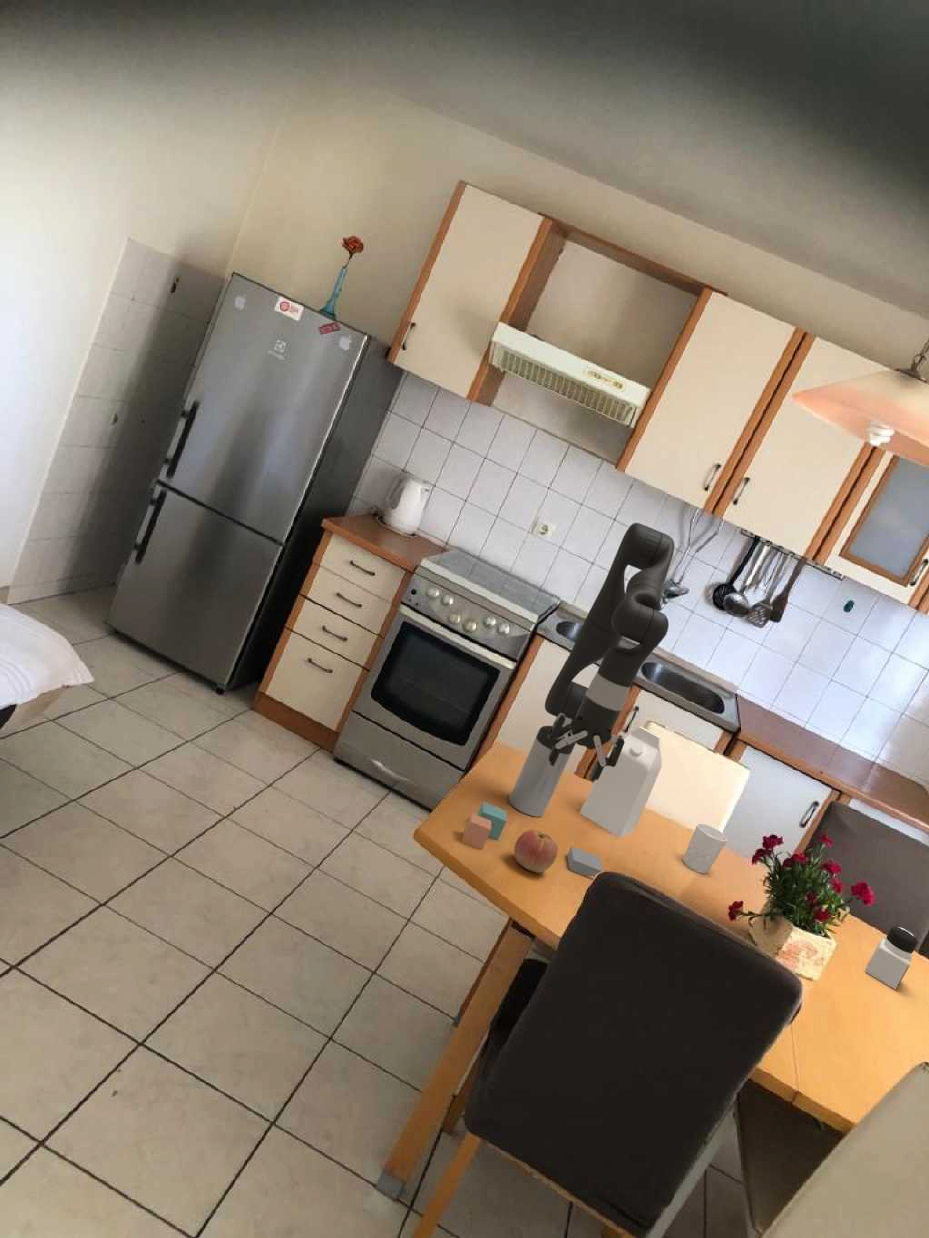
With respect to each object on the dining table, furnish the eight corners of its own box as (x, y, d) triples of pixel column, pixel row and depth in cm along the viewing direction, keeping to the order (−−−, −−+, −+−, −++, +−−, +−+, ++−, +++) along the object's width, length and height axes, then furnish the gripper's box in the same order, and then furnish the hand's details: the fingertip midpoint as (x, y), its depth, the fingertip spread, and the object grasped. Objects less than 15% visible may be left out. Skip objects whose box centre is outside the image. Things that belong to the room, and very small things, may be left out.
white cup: (712, 869, 243) (729, 835, 241) (707, 879, 235) (724, 844, 233) (683, 853, 245) (700, 820, 243) (677, 862, 238) (695, 828, 236)
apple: (545, 884, 198) (560, 851, 196) (506, 866, 199) (521, 832, 197) (549, 867, 206) (564, 835, 205) (511, 849, 207) (526, 817, 205)
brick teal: (474, 821, 214) (483, 801, 213) (497, 830, 214) (506, 810, 213) (474, 831, 209) (482, 811, 208) (497, 840, 209) (506, 821, 208)
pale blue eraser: (566, 855, 216) (571, 845, 215) (595, 866, 216) (600, 857, 215) (569, 869, 209) (573, 859, 208) (598, 881, 209) (603, 871, 209)
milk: (635, 829, 248) (677, 741, 243) (619, 837, 238) (663, 746, 233) (596, 805, 254) (636, 718, 248) (579, 812, 244) (620, 722, 238)
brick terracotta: (462, 833, 206) (471, 813, 205) (482, 840, 206) (491, 820, 205) (462, 842, 201) (471, 821, 200) (481, 850, 201) (491, 829, 200)
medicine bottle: (895, 990, 216) (920, 946, 213) (864, 972, 219) (889, 928, 217) (898, 980, 222) (923, 937, 220) (868, 962, 225) (892, 919, 223)
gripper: (635, 707, 190) (602, 777, 194) (569, 680, 189) (537, 752, 193) (641, 719, 183) (606, 792, 186) (572, 692, 182) (538, 766, 186)
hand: (571, 772), depth 190 cm, fingers open, 8 cm apart
